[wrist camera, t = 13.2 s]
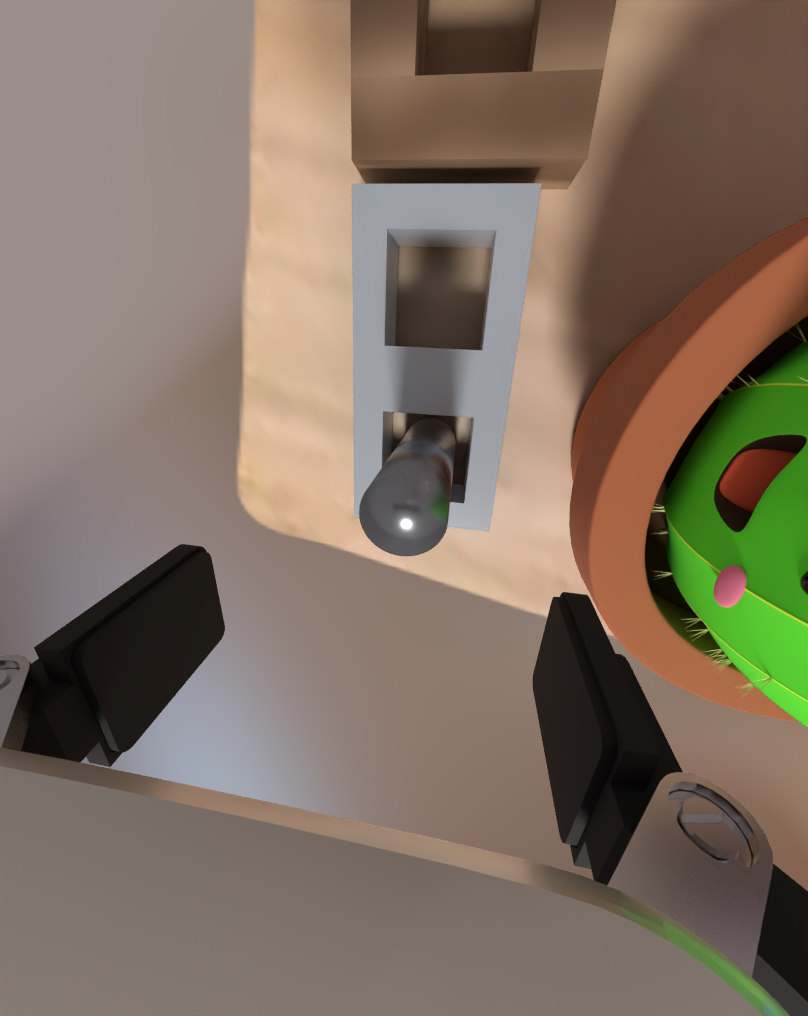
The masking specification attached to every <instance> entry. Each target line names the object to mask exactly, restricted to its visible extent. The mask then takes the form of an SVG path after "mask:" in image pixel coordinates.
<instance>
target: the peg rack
mask: <svg viewBox="0 0 808 1016" xmlns="http://www.w3.org/2000/svg"><path fill="white" fill-rule="evenodd" d="M541 185H542V183H489V184H352V253H353V385H354V516H355V518H359V507H360V502H361V499H362V497H363V495H364V493H365V491H366V490H367V488H368V487H369V486H370V484H371V483H372V481H373V480H374V478H375V477H376V476H377V474H378V473H379V471H380V470H381V468H382V467H383V466H384V464H385V463H386V461H387V460H388V458H389V457H390V456H391V454H392V431H393V412H401V413H415V414H430V415H444V416H458V417H472V423H471V431H470V440H469V449H468V457H467V466H466V475H465V483H464V485H461V484H452V488H451V498H450V508H449V518H448V525H447V527H450V528H459V529H469V530H478V531H488V532H489V529H490V522H491V516H492V509H493V503H494V496H495V489H496V483H497V476H498V469H499V463H500V456H501V450H502V443H503V436H504V430H505V423H506V416H507V410H508V403H509V397H510V390H511V383H512V377H513V370H514V363H515V357H516V350H517V344H518V337H519V330H520V324H521V317H522V310H523V304H524V297H525V291H526V284H527V277H528V271H529V264H530V257H531V251H532V244H533V238H534V231H535V224H536V218H537V211H538V204H539V198H540V191H541ZM399 246H408V247H463V248H492V249H491V258H490V266H489V275H488V284H487V292H486V301H485V310H484V318H483V327H482V336H481V344H480V350H467V349H447V348H426V347H406V346H395V340H396V310H397V280H398V249H399Z"/></svg>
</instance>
